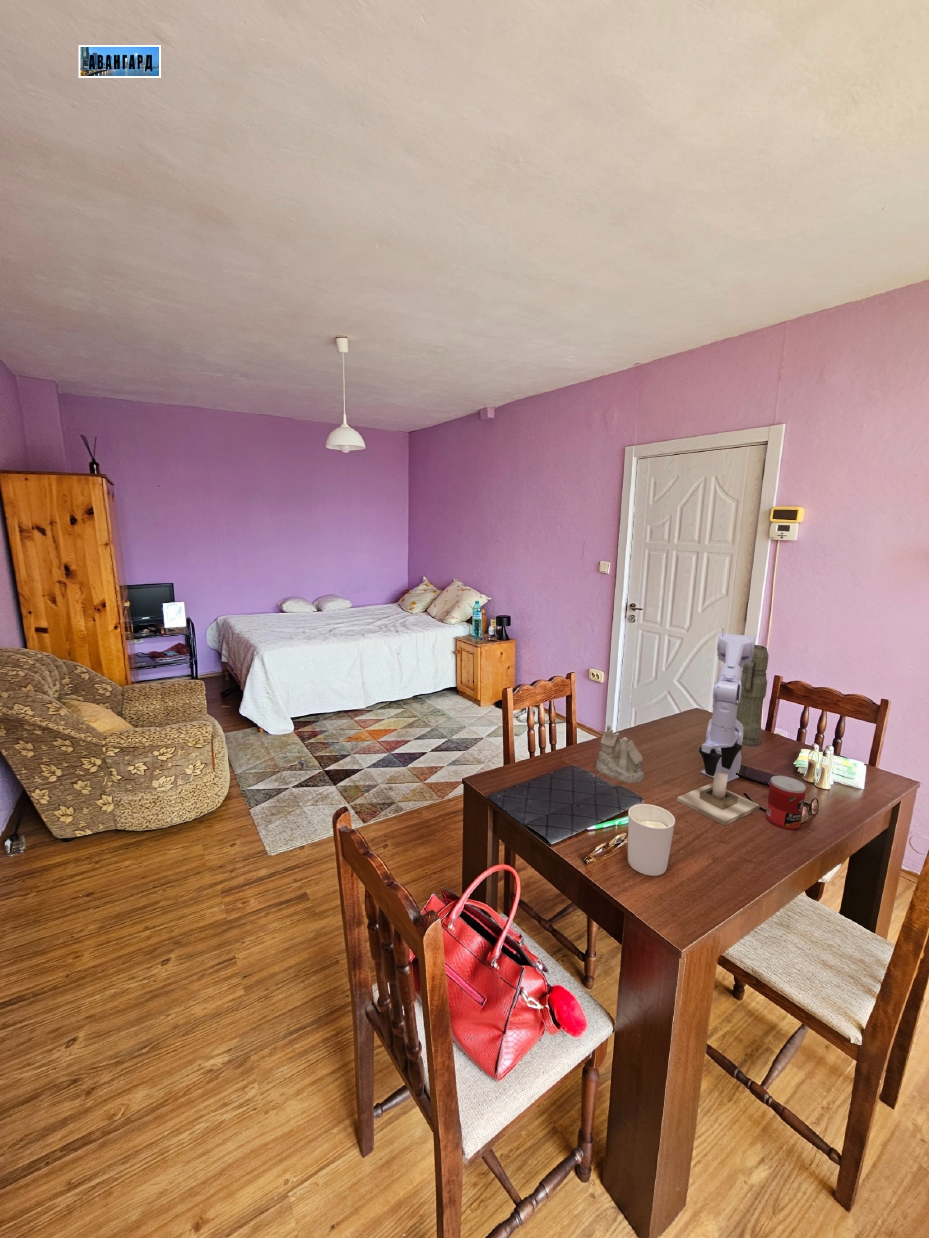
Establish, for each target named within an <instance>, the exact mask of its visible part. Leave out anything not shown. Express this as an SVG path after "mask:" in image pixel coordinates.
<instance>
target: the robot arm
mask: <svg viewBox="0 0 929 1238" xmlns="http://www.w3.org/2000/svg"><path fill="white" fill-rule="evenodd" d="M755 643H756V637H755V636H754V635H744V634H736V633H726V632H722V631H721V632H720V633H718V637H717V644H716V645H717V646H716V654H717V658H718V660H720V661H721V662H722V663H723V664H722V665H720V667H719V670H718V675H717V680H716V681H715V682H714V684H713V688H712V689H713V690H712V716H711V717H712V718H710V719H709V720H708V724H707V728H706V735H705V742H704V743H702V744H701V746H700V747H699V748H698V752H699V755H701V758H702V761H703V766H704V769H703V770H701V771H700V772H701V774H703V775H704V776H705V775H706V776H708V777H710V778H712V779H714V774H715V772H716V771H722V772H725V773H727V774H728V777H727V783H728V782H731V781H733V780H736V779H739V778H740V777H739V776H738V775H736V773H737V772H738V771H739V770H741V766H742V765H741V764H742V753H741V750H742V749H743V745H742V740H743V728H744V727H743V725H742V724H741V723H740V722H739V721H738V720H737V719H736V716H737V708H738V705H739V703H740V698H741V690H742V686H741V678H742V670H743V666H744V665H745V664H749V663H751V660H752V656H753V652H754V645H756V644H755ZM737 702H738V704H737ZM735 728H737V729H738V730H737V729H735Z"/></svg>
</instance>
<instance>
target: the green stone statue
mask: <svg viewBox="0 0 929 1238" xmlns="http://www.w3.org/2000/svg"><path fill="white" fill-rule="evenodd" d="M769 656H770V655H769V652H768V648H767V647H765V646H764V645H759V644H754V652H753V656H752V660H751V663H749V664H745V665H744V666H743V668H742V678H741V686H742V690H741V698H740V703H739V705H738V708H737V716H736V719H737V720H738V721H739V722H740V723H741V724H742V725H743V727H744V728H743V740H742V746H747V747H755V746H756V747H757V746H759V745H760V738H761V737H762V723H761V721H762V714H763V708H764V707H763V706H764V699H765V698H766V696H767V685H768V680H767V679H768V678H767V670H768V664H769V658H770V657H769ZM737 704H738V701H737ZM735 729H737V728H735ZM737 730H738V729H737Z"/></svg>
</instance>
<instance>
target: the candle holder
mask: <svg viewBox="0 0 929 1238" xmlns="http://www.w3.org/2000/svg"><path fill="white" fill-rule="evenodd" d="M627 812H628V813H627V815H628V821H627V822H628V827H627V829H628V830H627V831H628V832H627V834H628V835H627V862H628V864H629V866H630V867H631V868H632V869H633V870H634V871H636V872H638V873H640V874H642V875H645V876H649V877H650V876H651V877H658V876H661V875H664V874H665V873H666V871H667V869H668V865H669V859H670V853H671V848H672V842H673V835H674V829H675V825H676V818H675V816H674V815H673V814H672V813H671V812H670V811H669V810H667V809H666V808H663V807H661V806H658V805H654V804H649V803H638V804H635V805H632V806H631V807H630V808H629V809H628V811H627Z"/></svg>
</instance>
